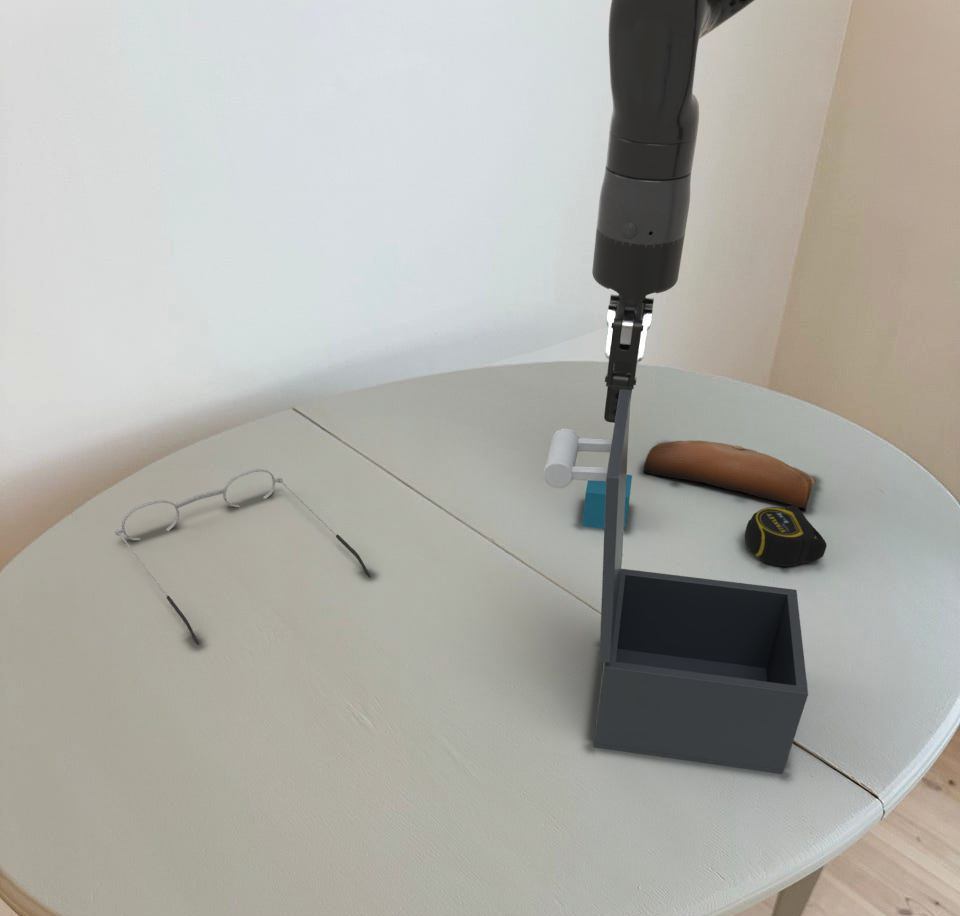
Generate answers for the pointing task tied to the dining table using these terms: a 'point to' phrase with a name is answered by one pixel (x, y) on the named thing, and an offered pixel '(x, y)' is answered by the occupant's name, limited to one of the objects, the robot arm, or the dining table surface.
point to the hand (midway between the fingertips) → (618, 400)
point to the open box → (703, 672)
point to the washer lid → (564, 471)
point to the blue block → (600, 503)
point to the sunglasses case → (731, 470)
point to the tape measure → (783, 537)
